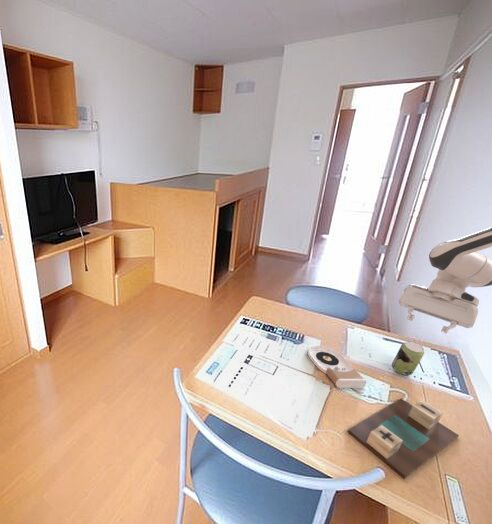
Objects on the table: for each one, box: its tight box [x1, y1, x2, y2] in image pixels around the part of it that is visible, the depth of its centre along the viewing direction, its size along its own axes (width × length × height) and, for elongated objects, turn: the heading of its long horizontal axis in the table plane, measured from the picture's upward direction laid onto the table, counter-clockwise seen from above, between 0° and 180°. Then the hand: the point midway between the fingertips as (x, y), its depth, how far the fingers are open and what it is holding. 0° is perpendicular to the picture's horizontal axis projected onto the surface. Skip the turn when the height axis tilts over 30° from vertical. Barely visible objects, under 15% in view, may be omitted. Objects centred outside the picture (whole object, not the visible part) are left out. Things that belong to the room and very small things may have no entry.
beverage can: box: [391, 340, 425, 376], centre depth 105 cm, size 6×7×12 cm
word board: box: [347, 398, 460, 480], centre depth 83 cm, size 26×14×5 cm, turn 115°
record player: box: [307, 345, 367, 389], centre depth 109 cm, size 12×3×20 cm
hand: (426, 325), depth 107 cm, fingers open, 8 cm apart
